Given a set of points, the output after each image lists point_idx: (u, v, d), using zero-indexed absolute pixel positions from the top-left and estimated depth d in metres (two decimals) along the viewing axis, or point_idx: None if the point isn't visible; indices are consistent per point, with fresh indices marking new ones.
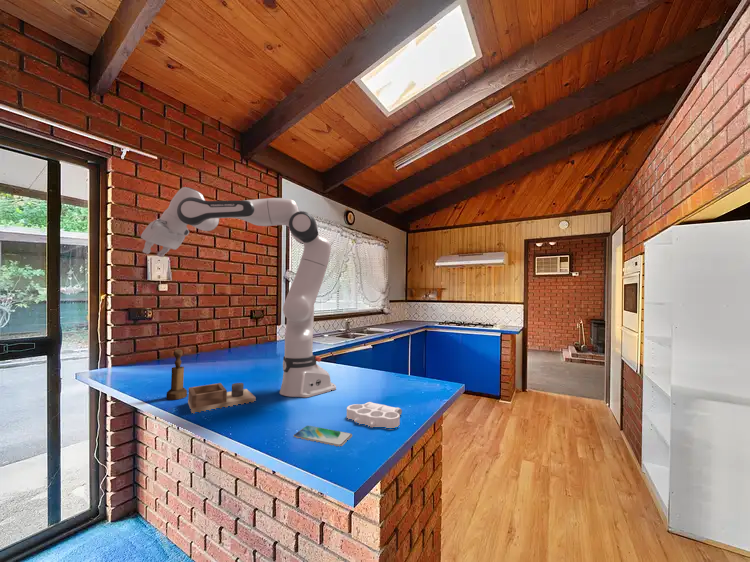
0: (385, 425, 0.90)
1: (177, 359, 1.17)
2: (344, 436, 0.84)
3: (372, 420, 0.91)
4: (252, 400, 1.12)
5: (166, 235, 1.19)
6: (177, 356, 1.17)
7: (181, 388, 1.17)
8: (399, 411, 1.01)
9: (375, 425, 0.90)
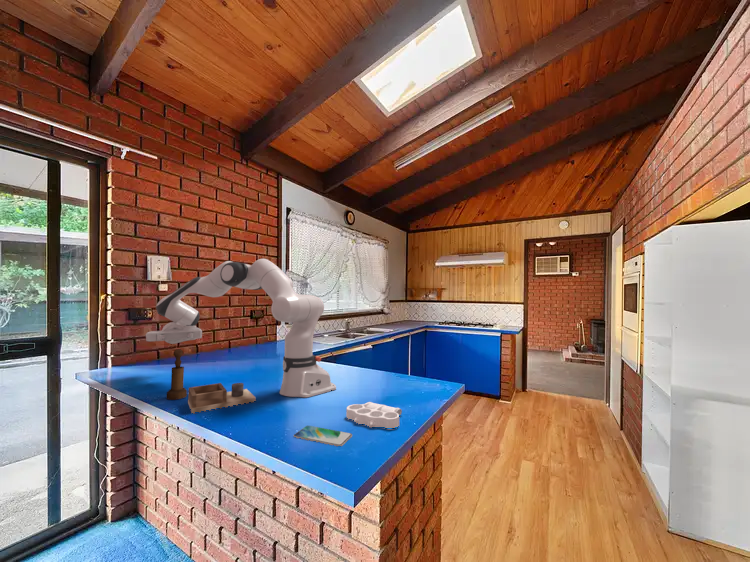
0: (385, 425, 0.90)
1: (177, 359, 1.17)
2: (344, 436, 0.84)
3: (371, 420, 0.91)
4: (252, 400, 1.12)
5: (169, 331, 1.34)
6: (177, 356, 1.17)
7: (181, 388, 1.17)
8: (399, 411, 1.00)
9: (374, 425, 0.90)
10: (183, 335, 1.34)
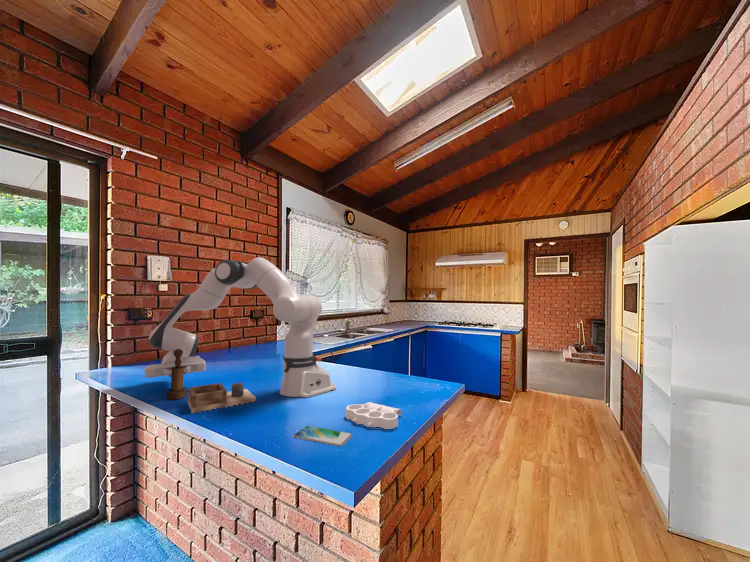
0: (383, 426, 0.90)
1: (177, 359, 1.17)
2: (344, 436, 0.84)
3: (370, 420, 0.90)
4: (252, 400, 1.12)
5: None
6: (177, 356, 1.17)
7: (181, 388, 1.17)
8: (399, 412, 1.00)
9: (373, 425, 0.90)
10: None
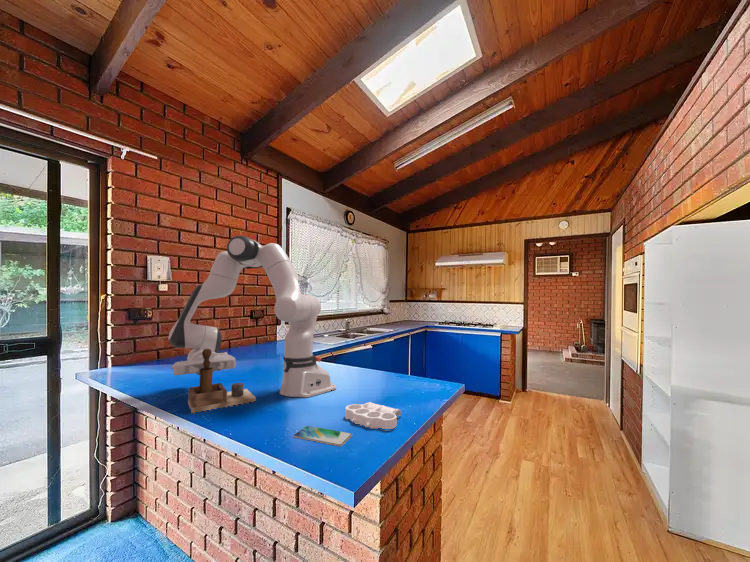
0: (381, 426, 0.89)
1: (206, 360, 1.09)
2: (344, 436, 0.84)
3: (368, 421, 0.90)
4: (252, 400, 1.12)
5: (198, 361, 1.15)
6: (206, 356, 1.09)
7: (210, 391, 1.09)
8: (398, 412, 0.99)
9: (371, 426, 0.90)
10: (214, 365, 1.15)
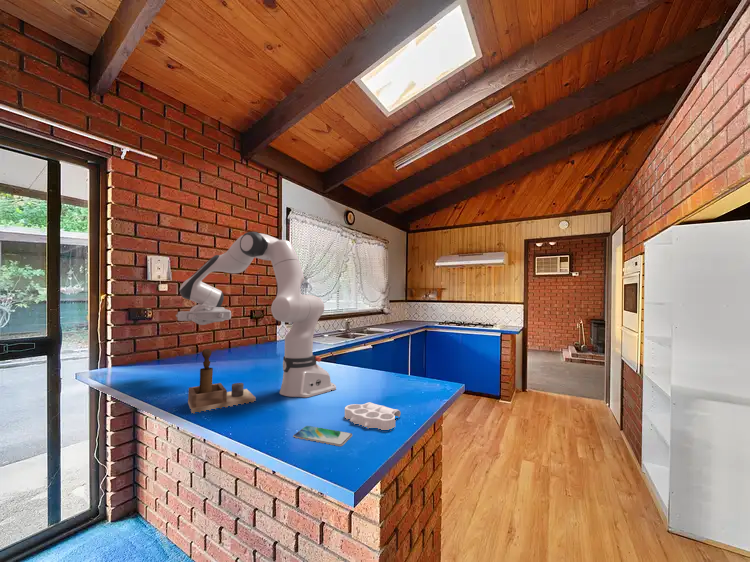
0: (380, 426, 0.89)
1: (206, 360, 1.09)
2: (344, 436, 0.84)
3: (367, 421, 0.90)
4: (252, 400, 1.12)
5: None
6: (206, 356, 1.09)
7: (210, 391, 1.09)
8: (398, 413, 0.99)
9: (370, 426, 0.90)
10: (213, 315, 1.33)
